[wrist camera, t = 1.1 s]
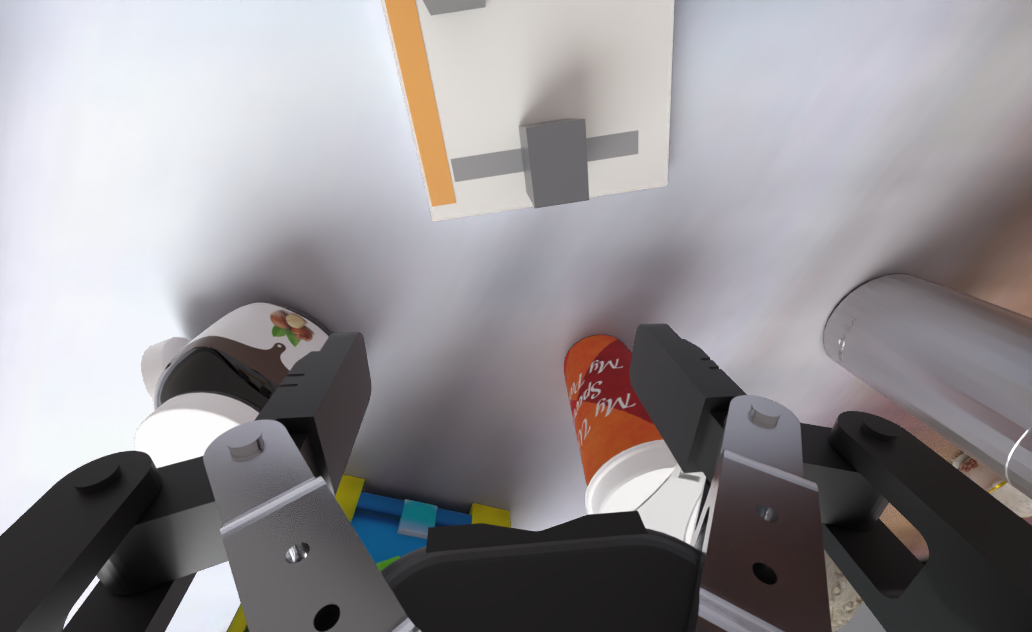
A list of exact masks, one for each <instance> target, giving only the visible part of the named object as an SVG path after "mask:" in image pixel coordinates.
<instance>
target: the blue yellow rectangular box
mask: <svg viewBox="0 0 1032 632" xmlns="http://www.w3.org/2000/svg"><path fill="white" fill-rule="evenodd" d="M364 482H365V479H362V478H357V477H353V476H348V475H343V476H342V479H341V481H340V484H339V487H338V490H337V493H336V495H335V498H336V500H337V502H338V503H339V505H340V507H341V508H342V510H343V512H344V513H345V515H346V516H347V518H348V520H349V521H350V523H351V525H352V526H353V528H354V529H355V531H356V533H357V534H358V536H359V538H360V539H361V541H362V543H363V544H364V546H365V547H366V549H367V551H368V552H369V554H370V556H371V557H372V559H373V560H374V562H375V564H376V565H377V567H378V569H379V570H380V571H382V570H383V569H384V568H385V567H387V566H388V565H389V564H391V563H392V562H394V561H396V560H397V559H399V558H401V557H402V556H404V555H406V554H408V553H410V552H412V551H414V550H416V549H419V548H422V547H425V546H426V545H427V535H428V527H440V526H452V525H465V524H477V523H484V524H490V525H497V526H503V527H509V528H511V521H510V511H507V510H503V509H498V508H494V507H489V506H485V505H480V504H476V503H472V506H471V510H470V513H469V514H465V513H460V512H456V511H451V510H446V509H441V508H437V506H436V505H431V504H426V503H422V502H417V501H412V500H408V499H405V500H399V499H394V498H390V497H385V496H380V495H375V494H371V493H366V492H361V491H362V488H363V485H364ZM227 632H249V629H248V626H247V622H246V619H245V615H244V612H243V608H242V605H241V604H240V606H239V608H238V610H237V612H236V614H235V616H234V618H233V620H232V622H231V624H230V626H229V628H228V630H227Z"/></svg>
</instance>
